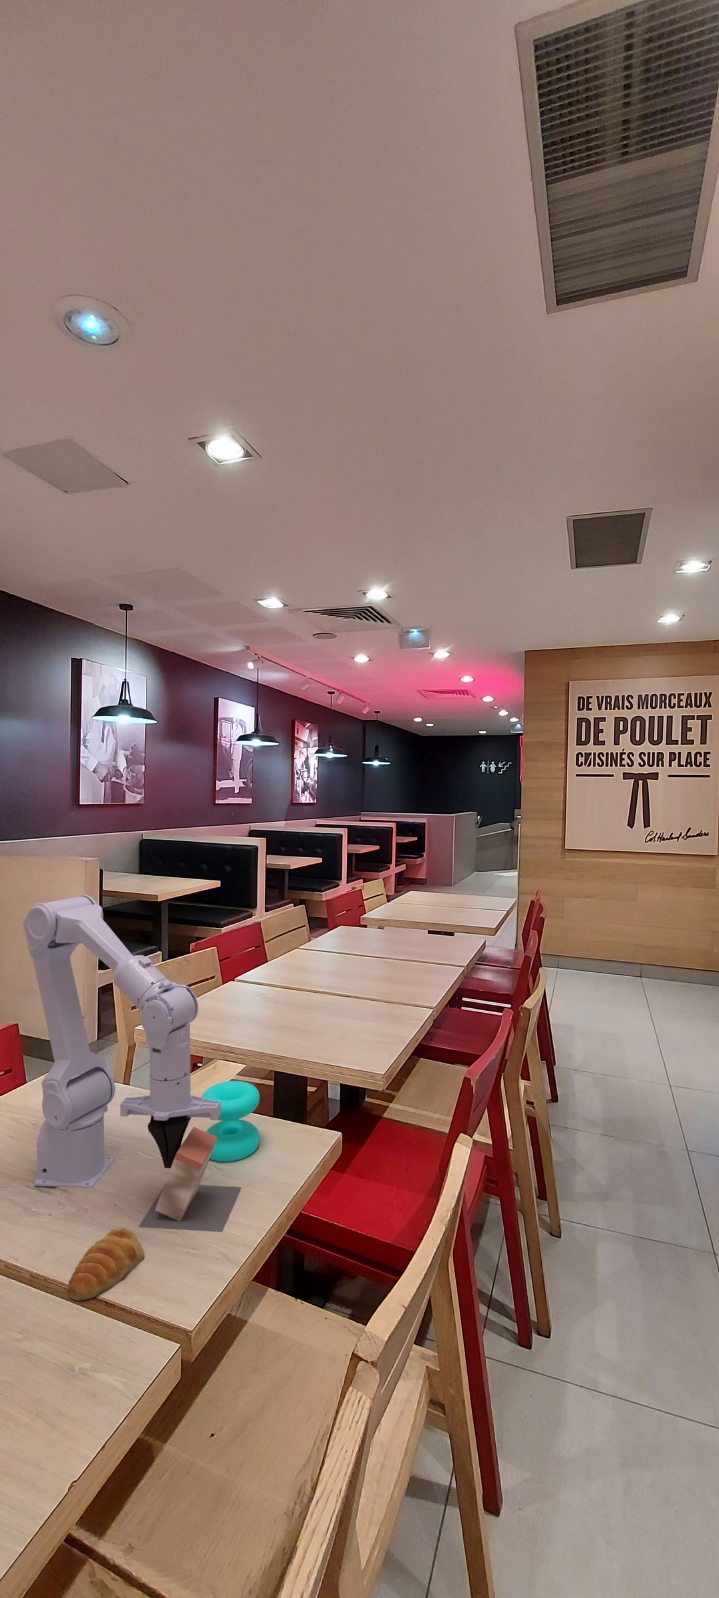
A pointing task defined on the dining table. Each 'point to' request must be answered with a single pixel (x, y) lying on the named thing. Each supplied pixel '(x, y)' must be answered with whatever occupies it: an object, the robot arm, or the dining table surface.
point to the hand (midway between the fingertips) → (171, 1164)
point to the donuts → (233, 1120)
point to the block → (186, 1174)
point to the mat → (198, 1211)
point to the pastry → (105, 1264)
